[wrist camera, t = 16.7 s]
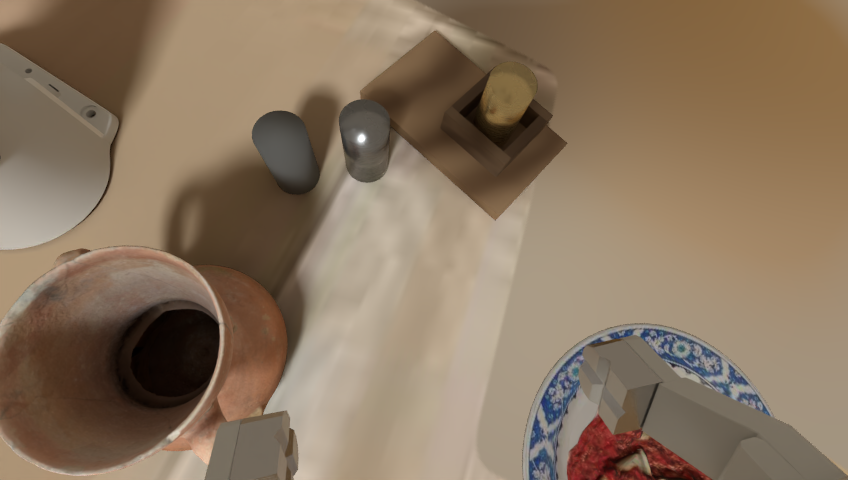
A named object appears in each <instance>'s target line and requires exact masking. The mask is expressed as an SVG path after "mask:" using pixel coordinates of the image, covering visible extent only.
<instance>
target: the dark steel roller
mask: <svg viewBox="0 0 848 480" xmlns="http://www.w3.org/2000/svg"><path fill="white" fill-rule="evenodd" d="M339 126H340V132H341V138H342V144H343V150H344V156H345V162H346V167H347V170H348V172H349V174H350V175H351V176H352V177H353V178H354V179H356V180H358V181H361V182H366V183H368V182H374V181H377V180H379V179H380V178H381V177H383V175H384V174H385V173H386V171H387V168H388V153H389V135H390V117H389V114H388V112H387V111H386V109H385V108H384V107H383V106H382V105H380V104H379V103H377V102H375V101H372V100H366V99H361V100H356V101H353V102H351V103H349V104H348V105H346V106H345V107H344V109H343V110H342V112H341V114H340V117H339Z"/></svg>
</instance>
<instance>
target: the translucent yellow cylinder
mask: <svg viewBox="0 0 848 480" xmlns="http://www.w3.org/2000/svg"><path fill="white" fill-rule="evenodd" d="M536 92H537V80H536V77H535V75H534V74H533V72H532V71H531V70H530V69H529V68H527V67H526V66H524V65H522V64H520V63H517V62H504V63H501V64H499V65H497V66H496V67H495V68H494V69H493V70H492V72H491V74H490V76H489V79H488V82H487V84H486V87H485V90H484V92H483V95H482V97H481V100H480V103H479V105H478V108H477V110H476V113H475V116H474V118H473V121H472V124H473V125H474V126H475V127H476V128H477V129H478V130H479V131H481V132H482V133H483V134H484V135H485V136H486V137H487V138H489V139H490V140H491V141H492V142H493V143H494V144H495V145H497V146H498V147H500V146H502V145H504V144H505V143H506V142H507V141H508V140H509V138H510V136H511V135H512V133H513V131H514V130H515V128H516V126H517V124H518V123H519V121H520V119H521V118H522V116H523V114H524V113H525V111H526V109H527V108H528V106H529V104H530V103H531V101H532V99H533V97H534V96H535V94H536Z"/></svg>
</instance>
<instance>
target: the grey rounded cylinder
mask: <svg viewBox="0 0 848 480" xmlns="http://www.w3.org/2000/svg"><path fill="white" fill-rule="evenodd" d="M252 139H253V142H254V144H255V146H256V148H257V150H258V151H259V153H260V155H261V156H262V158H263V160H264V161H265V163H266V165H267V167H268V168H269V170H270V172H271V173H272V175H273V177H274V179H275V180H276V182H277V184H278V185H279V187H280V188H281V189H282V190H284V191H285V192H287V193H290V194H304V193H307V192H309V191H310V190H312V189H313V188H314V187H315V186H316V184H317V183H318V180H319V176H320V173H319V168H318V165H317V162H316V159H315V156H314V152H313V149H312V146H311V143H310V140H309V137H308V133H307V130H306V127H305V125H304V123H303V121H302V120H301V119H300V118H299V117H298V116H296V115H295V114H293V113H291V112H287V111H273V112H270V113H267V114H265V115H263V116H262V117H261V118H259V119H258V121H257V122H256V123H255V125H254V127H253V131H252Z"/></svg>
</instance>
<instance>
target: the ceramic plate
mask: <svg viewBox="0 0 848 480" xmlns="http://www.w3.org/2000/svg"><path fill="white" fill-rule="evenodd" d="M633 335H637V336H639V337H641V338H642V339H643V340H644V341H645V342H646V343H647V344H648V345H649V346H650V347H651V348H652V349H653V350H654V351H655V352H656V353H657V354H658V355H659V356H660V357H661V358H662V359H663V360H664V361H665V362H666V363H667V364H668V365H669V366H670V367H671V368H672V369H673V370H674V371H675V372H676V373H677V374H678V375H679V376H680V377H681V378H685V377H687V378H689V379H691V380H693V381H695V382H697V383H700V384H702V385H704V386H706V387H708V388H710V389H713V390H715V391H717V392H719V393H721V394H723V395H726V396H728V397H730V398H732V399H734V400H736V401H739V402H741V403H743V404H745V405H747V406H749V407H752V408H754V409H756V410H758V411H760V412H762V413H764V414H767V415H769V416H771V417H773V418H775V417H774V415H773V413H772V412H771V410H770V408H769V407H768V405H767V403H766V401H765V400H764V398H763V397H762V395H761V394H760V392H759V391H758V389H757V388H756V386H755V385H754V384H753V383H752V382H751V381H750V379H749V378H748V377H747V376H746V375H745V374H744V373H743V372H742V371H741V369H740V368H739V367H738V366H736V365H735V364H734V363H733V362H732V361H731V360H730V359H729V358H728V357H727V356H725V355H724V354H723V353H721V352H720V351H719V350H717V349H716V348H714V347H712V346H711V345H710V344H708V343H707V342H705V341H703V340H701V339H699V338H697V337H695V336H693V335H691V334H688V333H686V332H683V331H681V330H678V329H674V328H671V327H666V326H662V325H656V324H655V325H654V324H625V325H620V326H616V327H611V328H608V329H605V330H602V331H599V332H597V333H595V334H593V335H591V336H589V337H587V338H585V339H584V340H582V341H581V342H579V343H577V344H576V345H575V346H574V347H573V348H571V349H570V350H569V351H568V352H566V353H565V354H564V356H562V357H561V358H560V359H559V360H558V362H557V363H556V364H555V365H554V367H553V368H552V369H551V370H550V372H549V373H548V375H547V376H546V378H545V379H544V381H543V383H542V385H541V387H540V389H539V390H538V392H537V394H536V397H535V399H534V402H533V405H532V407H531V410H530V414H529V417H528V421H527V425H526V430H525V435H524V443H523V457H522V459H523V460H522V471H523V480H713V479H711V478H710V477H708V476H707V475H705V474H704V473H702V472H701V471H700V470H698V469H697V468H695V467H694V466H692V465H691V464H689V463H688V462H687V461H685V460H684V459H682V458H681V457H679V456H678V455H676V454H675V453H674V452H672V451H671V450H669V449H668V448H666V447H665V446H663V445H662V444H661V443H659V442H658V441H656V440H655V439H653V438H652V437H650V436H649V435H648V434H646V433H645V432H643V431H642V429H638V430H634V431H629V432H625V433H620V434H616V435H613V434H612V433H611V431H610V430H609V429H608V427H607V426H606V424H605V423H604V421H603V420H602V418H601V417H600V416H599V414H598V407H599V406H598V405H597V404H595V403H593V402H592V401H590V400H588V398H587V396H586V395H585V393H584V392H583V390H582V387H581V385H580V381H579V376H578V374H579V367H580V366H581V364H582V363H583V362H584V361H585V358H584V357H583V356H582V354H583V349H584V348H585V347H586V346H587V345H591V344H595V343H599V342H604V341H608V340H612V339H619V338H623V337H628V336H633Z"/></svg>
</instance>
